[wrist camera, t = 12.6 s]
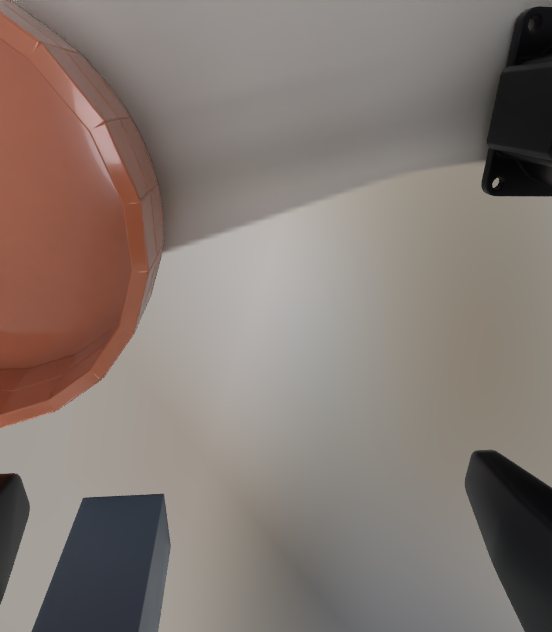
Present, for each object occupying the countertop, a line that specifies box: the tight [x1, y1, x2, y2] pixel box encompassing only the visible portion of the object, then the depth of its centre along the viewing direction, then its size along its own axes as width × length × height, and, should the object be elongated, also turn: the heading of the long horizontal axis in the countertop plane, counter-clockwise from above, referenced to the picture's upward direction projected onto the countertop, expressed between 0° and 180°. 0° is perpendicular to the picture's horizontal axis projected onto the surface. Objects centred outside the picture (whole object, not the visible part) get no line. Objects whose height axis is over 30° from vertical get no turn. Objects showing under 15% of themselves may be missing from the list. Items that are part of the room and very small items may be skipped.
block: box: [32, 494, 170, 632], centre depth 22 cm, size 4×4×8 cm
